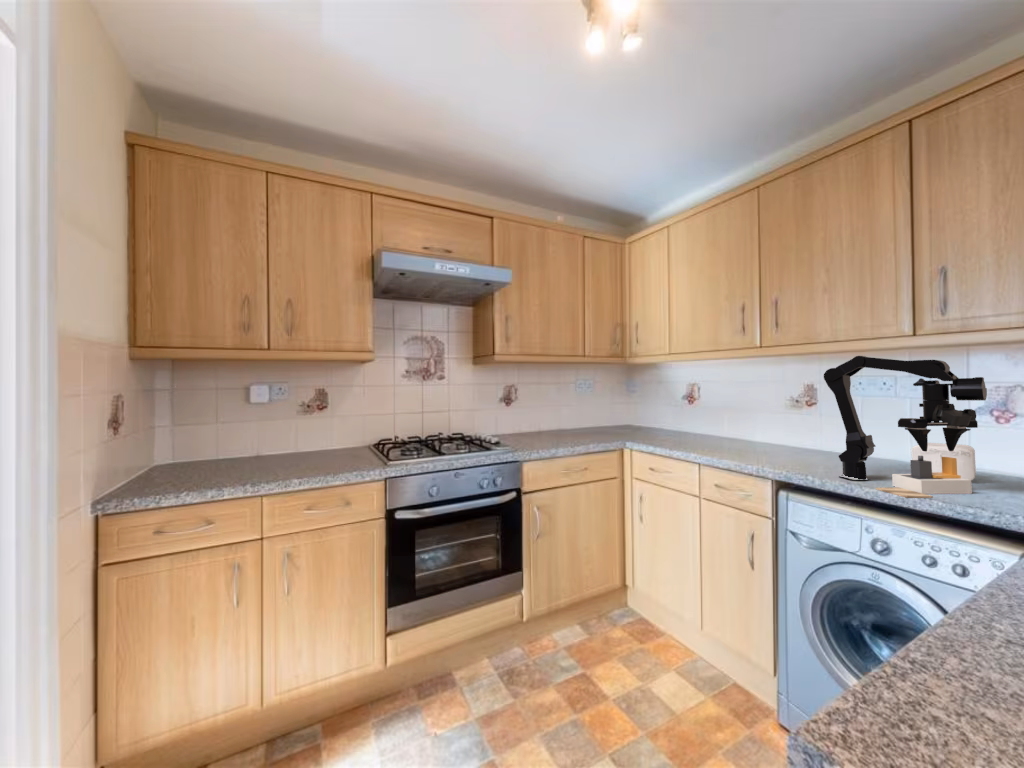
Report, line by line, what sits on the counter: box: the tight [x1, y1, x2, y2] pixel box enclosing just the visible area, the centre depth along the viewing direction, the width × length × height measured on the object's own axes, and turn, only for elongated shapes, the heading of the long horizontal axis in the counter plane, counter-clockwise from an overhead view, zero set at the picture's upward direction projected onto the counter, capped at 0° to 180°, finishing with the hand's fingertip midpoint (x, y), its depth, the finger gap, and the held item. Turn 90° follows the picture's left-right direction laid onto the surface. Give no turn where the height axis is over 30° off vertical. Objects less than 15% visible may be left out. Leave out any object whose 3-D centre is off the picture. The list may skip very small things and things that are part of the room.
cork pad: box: [875, 486, 933, 499], centre depth 124 cm, size 11×7×1 cm, turn 177°
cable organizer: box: [910, 442, 977, 481], centre depth 143 cm, size 15×11×12 cm
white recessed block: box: [891, 473, 973, 495], centre depth 127 cm, size 10×14×4 cm
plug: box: [901, 456, 941, 479], centre depth 128 cm, size 6×7×8 cm
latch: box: [932, 457, 961, 478], centre depth 127 cm, size 5×7×6 cm
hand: (937, 451), depth 127 cm, fingers open, 7 cm apart
